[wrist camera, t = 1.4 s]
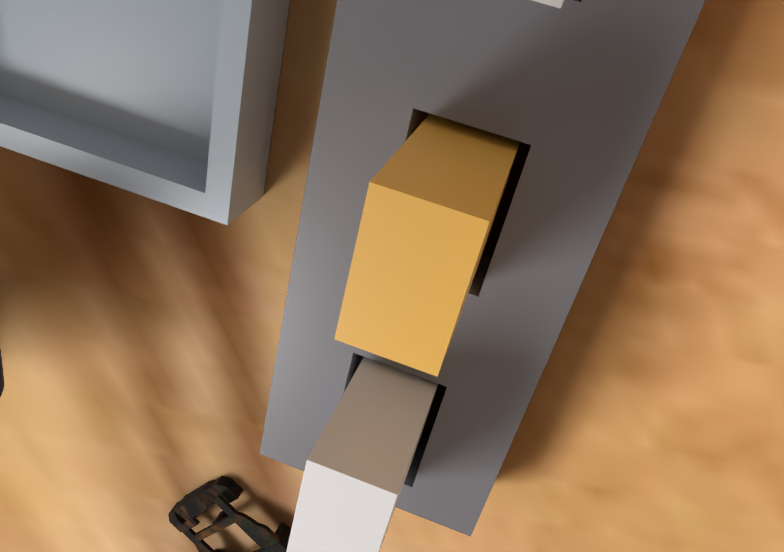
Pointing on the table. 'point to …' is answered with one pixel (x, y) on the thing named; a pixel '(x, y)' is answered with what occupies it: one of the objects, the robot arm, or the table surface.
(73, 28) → the tray
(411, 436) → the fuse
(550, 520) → the table surface
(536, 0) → the block
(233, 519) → the black knife
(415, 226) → the block
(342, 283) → the fuse holder
